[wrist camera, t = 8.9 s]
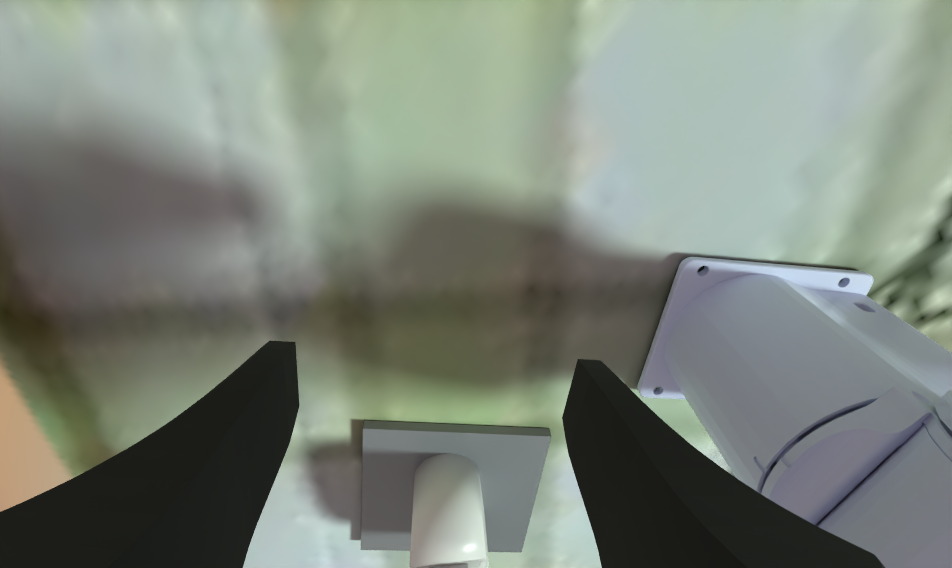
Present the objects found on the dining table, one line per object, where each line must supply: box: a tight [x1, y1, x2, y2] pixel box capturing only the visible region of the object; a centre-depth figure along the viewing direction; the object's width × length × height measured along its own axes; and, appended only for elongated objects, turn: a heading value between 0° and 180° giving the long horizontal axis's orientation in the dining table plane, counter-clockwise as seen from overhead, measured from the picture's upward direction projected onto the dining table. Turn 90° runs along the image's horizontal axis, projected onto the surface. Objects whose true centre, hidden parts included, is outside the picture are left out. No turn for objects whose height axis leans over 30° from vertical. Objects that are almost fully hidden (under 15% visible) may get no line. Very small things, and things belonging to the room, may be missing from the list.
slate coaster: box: [361, 420, 551, 552], centre depth 29 cm, size 10×10×1 cm
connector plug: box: [410, 453, 489, 568], centre depth 26 cm, size 4×7×6 cm, turn 6°
